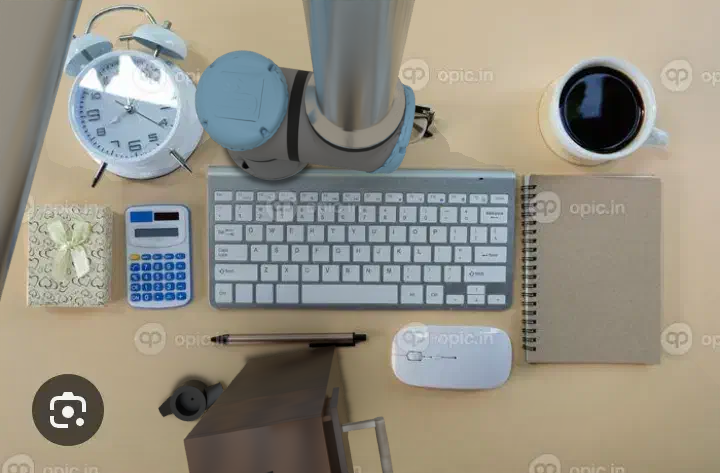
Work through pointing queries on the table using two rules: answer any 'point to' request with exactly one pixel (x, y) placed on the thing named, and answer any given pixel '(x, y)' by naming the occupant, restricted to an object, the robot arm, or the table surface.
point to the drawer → (339, 437)
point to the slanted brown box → (269, 417)
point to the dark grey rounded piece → (191, 400)
